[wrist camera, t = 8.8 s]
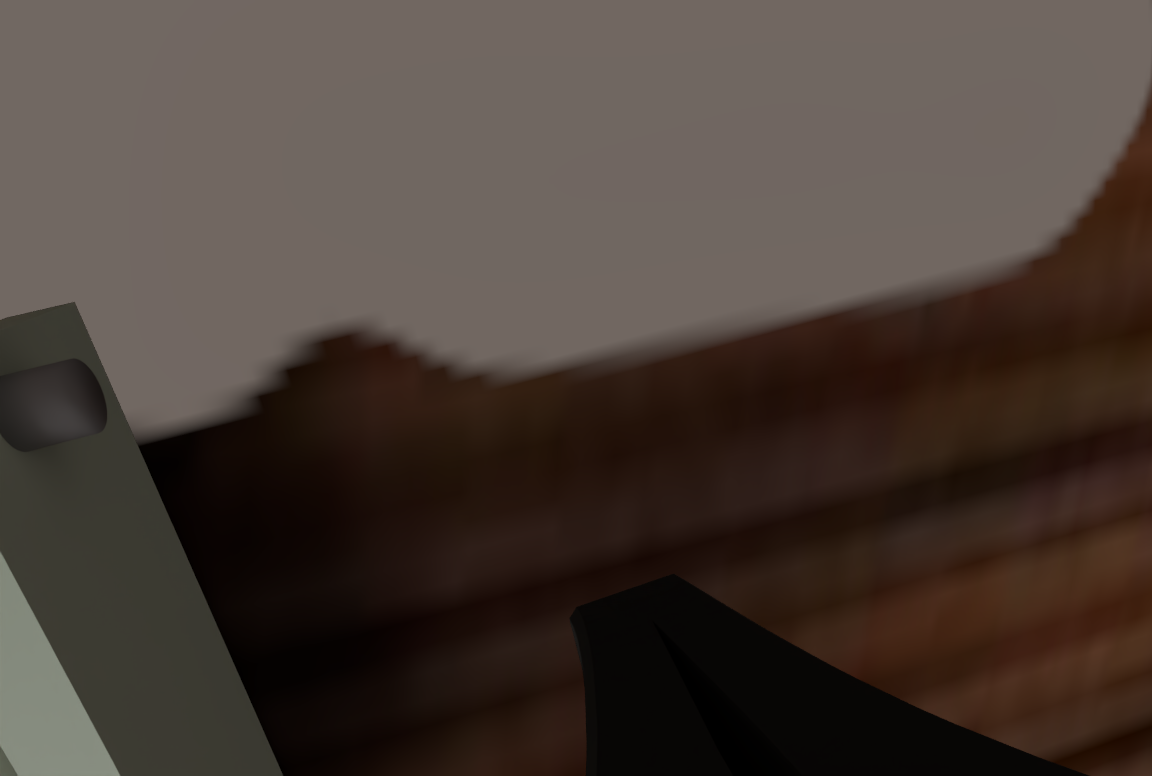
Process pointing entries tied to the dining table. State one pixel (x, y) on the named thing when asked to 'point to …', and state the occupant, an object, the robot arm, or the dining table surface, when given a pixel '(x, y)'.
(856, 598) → the dining table surface
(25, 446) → the door
